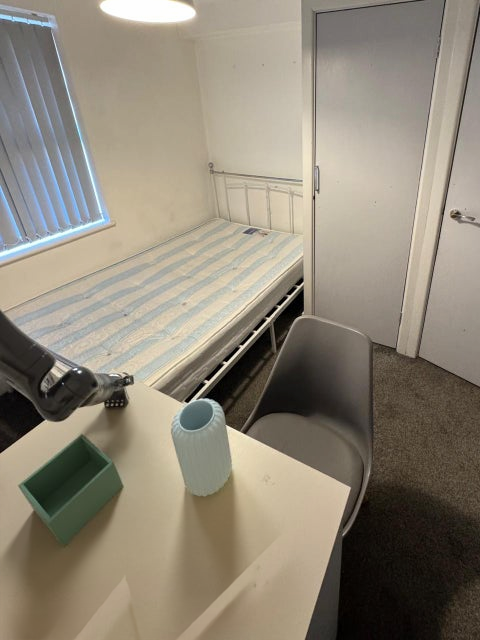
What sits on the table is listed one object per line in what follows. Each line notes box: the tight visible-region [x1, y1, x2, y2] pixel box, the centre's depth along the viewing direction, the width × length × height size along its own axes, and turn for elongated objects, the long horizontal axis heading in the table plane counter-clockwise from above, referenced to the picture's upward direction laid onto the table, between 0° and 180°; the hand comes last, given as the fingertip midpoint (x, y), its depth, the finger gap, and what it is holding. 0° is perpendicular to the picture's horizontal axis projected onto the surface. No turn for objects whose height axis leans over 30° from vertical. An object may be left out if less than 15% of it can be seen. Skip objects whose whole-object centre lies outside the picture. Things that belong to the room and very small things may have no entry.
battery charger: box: [103, 373, 130, 409], centre depth 95 cm, size 7×4×11 cm, turn 93°
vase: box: [170, 397, 233, 497], centre depth 75 cm, size 12×12×22 cm
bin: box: [17, 433, 124, 548], centre depth 73 cm, size 13×13×10 cm
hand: (110, 386), depth 95 cm, fingers open, 8 cm apart
